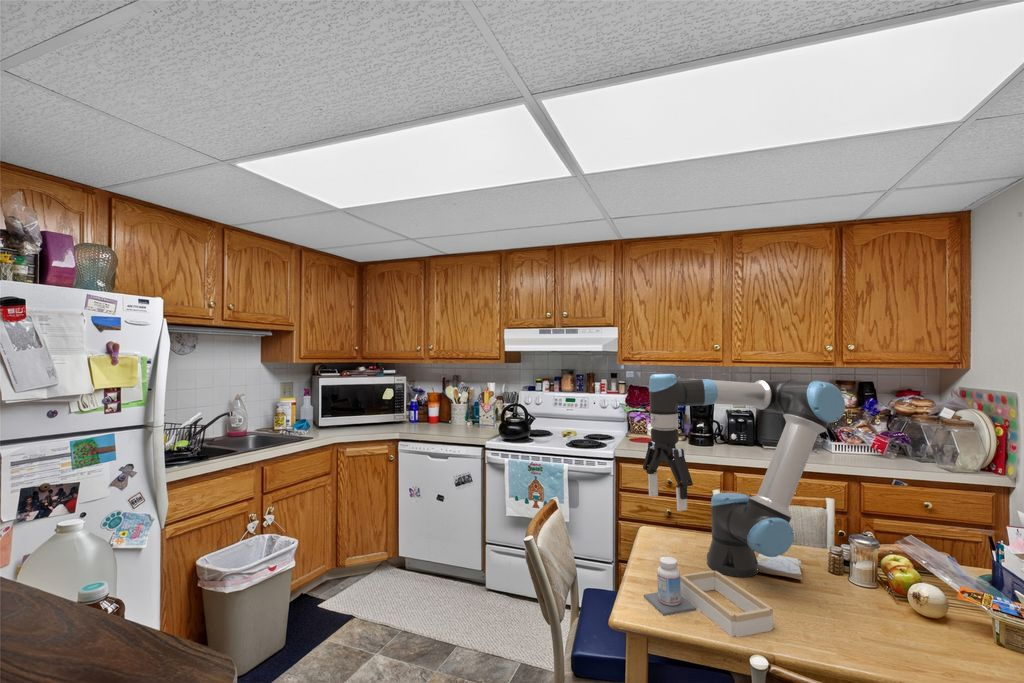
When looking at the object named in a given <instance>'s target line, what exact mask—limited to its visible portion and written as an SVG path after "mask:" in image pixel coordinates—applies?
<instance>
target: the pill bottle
mask: <svg viewBox="0 0 1024 683" xmlns="http://www.w3.org/2000/svg"><path fill="white" fill-rule="evenodd" d="M656 571H657V578H656V579H657V592H658V599H659V601H660V602H661V603H663V604H665V605H669V606H676V605H678V604H680V602H681V590H680V576H681V573H680V570H679V568H678V560H677V559H676V558H674V557H672V556H661V557H660V558H659V566H658V567H657V570H656Z"/></svg>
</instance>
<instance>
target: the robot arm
mask: <svg viewBox="0 0 1024 683" xmlns="http://www.w3.org/2000/svg"><path fill="white" fill-rule="evenodd" d="M648 382H649V383H648V385H649V386H648V392H649V410H650V420H649V421H650V427H652V428H651V429H650V440H651V441H650V440H649V441H648V442H647V450H646V454H645V458H644V460H643V465H642V469H643V470H644V471H645V472H646V474H647V483H648V496H649V497H650V498H652V497H658V496H659V487H658V486H659V480H658V478H659V477H658V468H659V466H660V465H661V463H662V461H663V462H665V463H666V465H667V466H668V467H669V469H670V471H671V472H672V475H673V477H674V479H675V482H676V484H677V485H676V486H675V492H676V494H675V495H676V511H678V512H683V511H688V487H692V486H693V485H694V484H693V480H692V476H691V473H690V470H689V466H688V464H687V461H686V458H685V452H684V451H685V450H684V449H683V448H677V447H676V444H677V443H678V442H679V439H680V438H679V430H678V427H679V415H678V414H679V412H678V410H679V408H678V407H692V406H694V407H695V406H698V407H699V406H703V407H704V406H709V405H713V404H715V405H730V406H731V405H732V406H747V407H754V408H756V409H758V410H761V411H762V410H764V411H771V412H775V413H779V414H782V416H783V418H784V420H785V422H786V423H785V425H784V428H783V430H782V433H781V436H780V438H779V440H778V443H777V444H776V448H775V450H774V452H773V455H772V456H771V459H770V462H769V465H768V466H767V469H766V472H765V475H764V477H763V479H762V481H761V484H760V485H759V486H760V487H759V489H758V492H757V494H756V495H753V496H749V495H747V494H744V493H738V492H721V493H715V494H713V495H712V496H711V502H710V512H711V542H710V545H709V549H708V552H707V554H706V564H707V566H708V567H709V568H710V569H711V570H712V571H717V572H719V573H720V574H722V575H724V576H725V575H727V576H730V577H734V578H735V577H736V578H748V577H753V576H756V575H757V574H759V571H758V570H759V562H758V559H757V555H756V554H755V552H756V553H757V554H760V555H762V556H765V557H769V558H775V557H777V558H778V556H782V555H784V554H785V553H786V552H788V551H789V549H790V548H791V547H792V545H793V542H794V539H795V534H794V530H793V529H794V528H793V527H792V525H791V524H790V522H791V520H792V517H793V516H792V514H791V512H790V510H789V507H790V505H791V503H792V500H793V498H794V495H795V492H796V490H797V488H798V485H799V483H800V480H801V478H802V475H803V473H804V470H805V468H806V465H807V463H808V460H809V457H810V455H811V453H812V450H813V448H814V446H815V443H816V440H817V438H818V435H819V434H822V433H824V432H827V429H828V427H829V425H830V424H832V423H835V422H837V421H839V420H840V419H841V418H842V417H843V416H844V414H845V410H846V401H845V397H843V393H842V391H841V390H840V389H839V388H838V387H837V386H835V384H832V383H831V382H826V381H821V380H806V379H805V380H803V379H792V378H791V379H777V380H776V379H775V380H774V379H773V380H772V379H771V380H762V379H759V380H757V381H755V382H745V381H732V380H729V381H728V380H717V379H709V378H706V379H703V378H687V377H685V378H684V377H677V375H676V374H675V373H654V374H651V375H650V376H649V381H648ZM757 569H758V570H757Z"/></svg>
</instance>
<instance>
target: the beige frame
mask: <svg viewBox="0 0 1024 683" xmlns="http://www.w3.org/2000/svg"><path fill="white" fill-rule="evenodd" d="M680 590H681V595H682V596H683V597H684V598H685V599H686V600H688V601H689V602H690V603H691V604H692V605H694V606H695V607H696V609H697V610H698V611H700V612H701V613H702V614H704V615H705V616H706V617H707V618H709V620H711V621H712V622H713V623H714V624H716V625H717V626H718V627H719V628H720V629H722V630H723V631H724V632H725V633H726V634H727V635H729V636H730V637H736V638H741V637H745V636H752V635H755V634H761V633H766V632H771V631H772V630H773V629H774V610H773V609H774V608H773V607H771V606H770V605H769V604H767V603H765V602H764V601H763V600H761V599H759V598H758V597H757V596H756V595H754V594H752V593H750V592H749V591H747V590H746V589H744V588H743V587H742V586H740V585H739V584H737V583H735V582H734V581H732V580H731V579H730V578H728V577H727V576H725V575H724V574H722V573H719V572H717V571H715V570H707V571H700V572H693V573H687V574H682V575H680ZM712 590H713V591H714V590H715V591H717V592H718V594H721V596H723V597H724V598H726V599H727V600H729V601H730V602H731V603H733V604H734V605H736V606H737V607H738V608H740V609H741V610H742V611H743V612H738V613H737V612H736V613H733V612H732V611H730V610H729V609H727V608H726V607H725V606H723V605H722V604H721V603H719V602H718V601H717V600H716V599H715V598H713V597H711V596H710V595H709V594H708V593H706V591H707V592H708V591H712Z"/></svg>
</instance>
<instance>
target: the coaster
mask: <svg viewBox="0 0 1024 683" xmlns="http://www.w3.org/2000/svg"><path fill="white" fill-rule="evenodd" d="M643 598H644V599H645V600H646V601H647V602H649V603H650V604H651V605H652V606H653V607H654V608H655V609H656V610H657V611H658V612H659V613H660V614H661V615H662V616H670V615H675V614H680V613H686V612H687V613H688V612H691V611H692V612H693V611H697V608H696V607H695V606H694V605H693V604H692V603H690V602H689V601H688V600H687V599H686V598H684V597H683V596H682V595H681V602H680V604H678V605H676V606H669V605H665V604H663V603H661V602H660V601H659V599H658V591H656V592H652V593H645V594H643Z"/></svg>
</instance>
